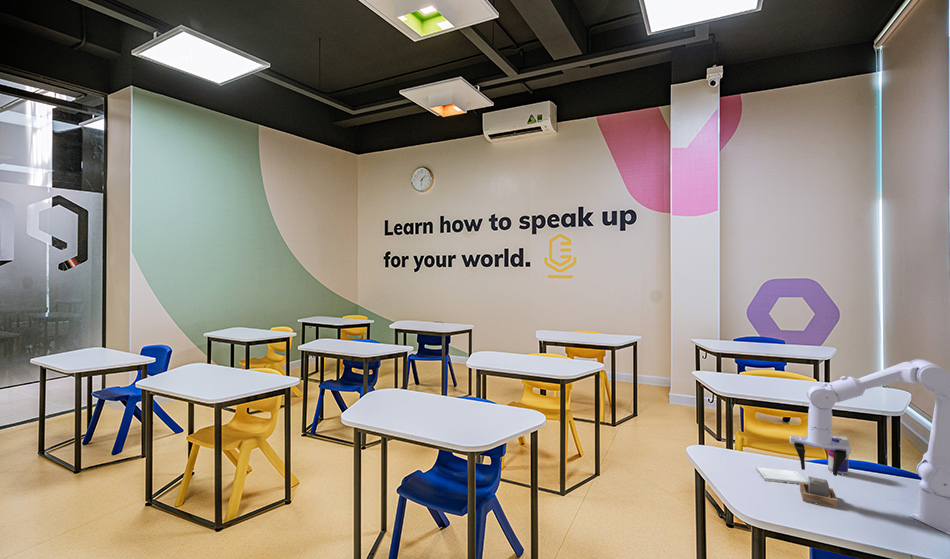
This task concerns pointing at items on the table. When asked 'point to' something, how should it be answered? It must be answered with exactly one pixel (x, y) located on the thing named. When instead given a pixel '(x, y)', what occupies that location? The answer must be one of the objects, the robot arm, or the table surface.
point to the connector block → (818, 486)
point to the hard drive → (780, 475)
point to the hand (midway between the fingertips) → (818, 471)
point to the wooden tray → (818, 497)
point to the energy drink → (844, 466)
